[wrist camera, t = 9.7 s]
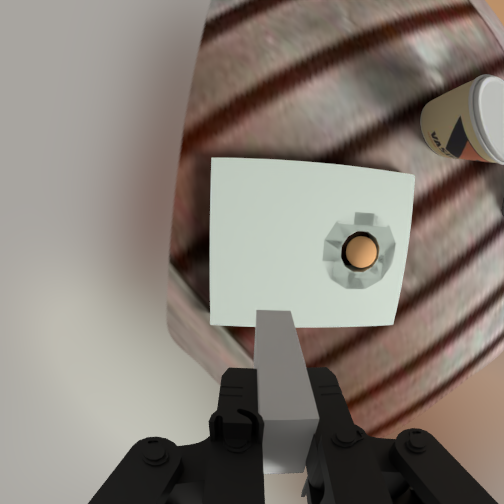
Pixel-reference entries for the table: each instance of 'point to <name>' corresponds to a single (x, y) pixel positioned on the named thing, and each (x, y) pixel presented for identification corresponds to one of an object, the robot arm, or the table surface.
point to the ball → (361, 251)
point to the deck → (305, 241)
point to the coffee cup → (467, 121)
